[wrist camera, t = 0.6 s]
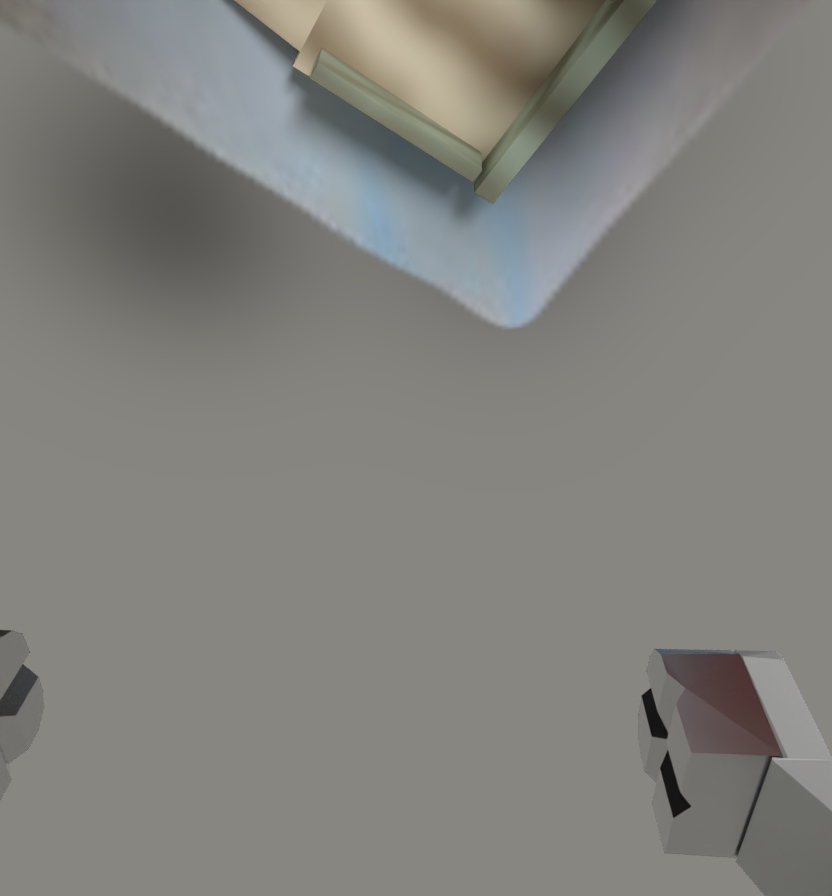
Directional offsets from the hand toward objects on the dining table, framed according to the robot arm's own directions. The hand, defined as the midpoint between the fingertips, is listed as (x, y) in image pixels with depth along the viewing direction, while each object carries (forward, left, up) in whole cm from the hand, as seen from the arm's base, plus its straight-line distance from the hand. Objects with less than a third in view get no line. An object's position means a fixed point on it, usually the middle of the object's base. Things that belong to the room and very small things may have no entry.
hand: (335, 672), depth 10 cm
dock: (+5, +3, -49) cm, 49 cm away
